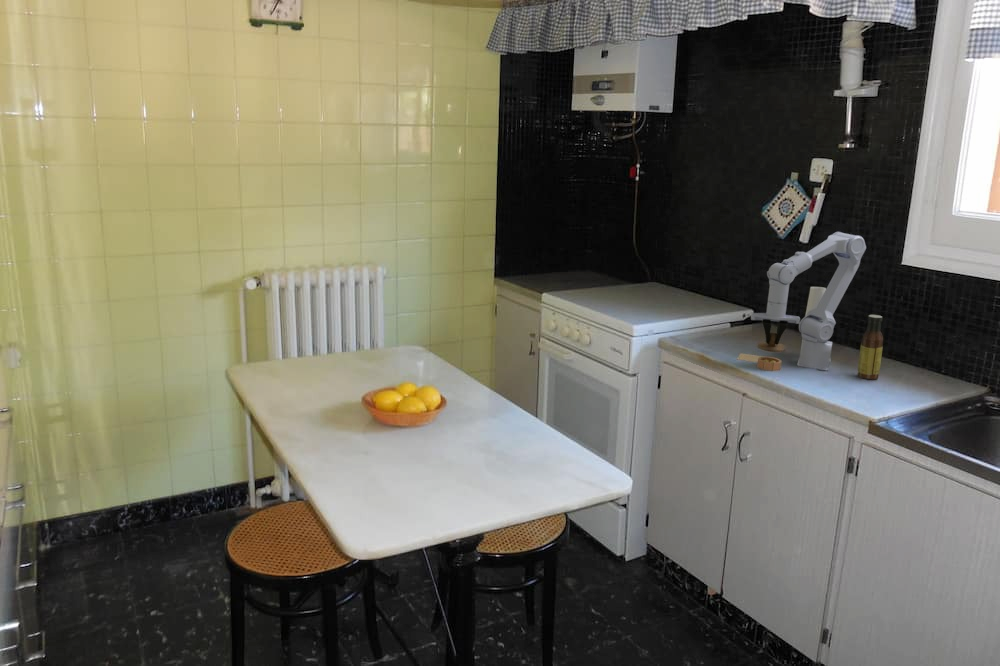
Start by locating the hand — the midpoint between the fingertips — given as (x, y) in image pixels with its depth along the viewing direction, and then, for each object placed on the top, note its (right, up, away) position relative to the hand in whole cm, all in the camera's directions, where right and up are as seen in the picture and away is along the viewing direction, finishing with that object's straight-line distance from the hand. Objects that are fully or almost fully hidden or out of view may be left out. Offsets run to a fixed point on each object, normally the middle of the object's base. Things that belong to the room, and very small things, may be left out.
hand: (771, 343), depth 253 cm
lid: (0, -1, +1) cm, 2 cm away
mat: (-3, -6, +12) cm, 13 cm away
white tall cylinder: (+18, -5, +15) cm, 24 cm away
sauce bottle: (+29, -11, -3) cm, 31 cm away
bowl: (0, -8, +2) cm, 8 cm away
